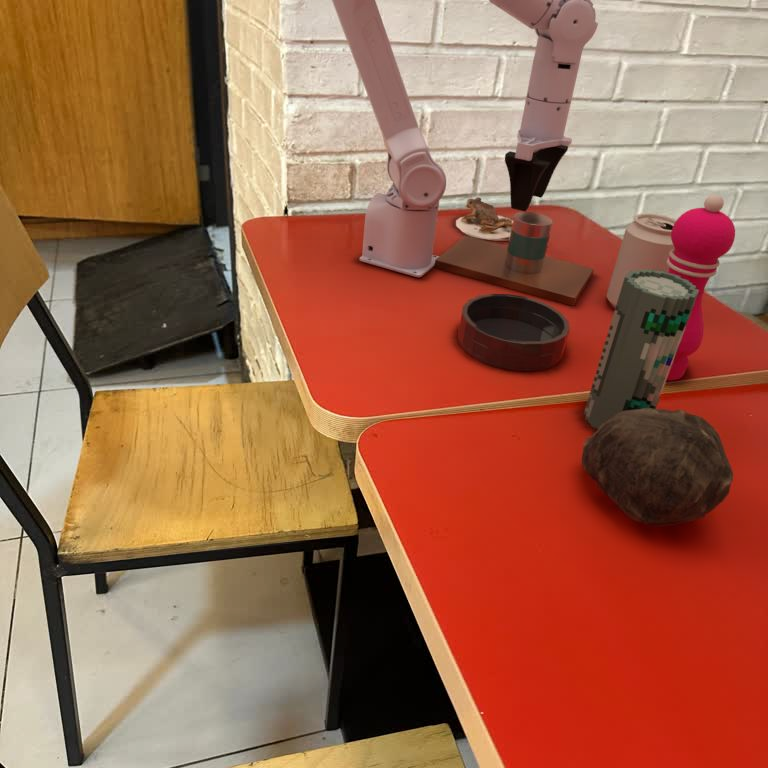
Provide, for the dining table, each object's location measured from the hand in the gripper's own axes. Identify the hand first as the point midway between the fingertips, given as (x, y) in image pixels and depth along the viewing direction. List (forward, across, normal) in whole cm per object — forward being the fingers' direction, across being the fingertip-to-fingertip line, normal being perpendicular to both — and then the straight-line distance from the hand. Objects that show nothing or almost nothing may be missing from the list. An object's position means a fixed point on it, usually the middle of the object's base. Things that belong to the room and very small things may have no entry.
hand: (527, 202), depth 96 cm
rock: (+10, -43, -25) cm, 51 cm away
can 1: (+10, -3, -18) cm, 20 cm away
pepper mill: (+10, -18, -23) cm, 31 cm away
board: (+9, -2, -1) cm, 10 cm away
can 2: (+10, -32, -21) cm, 40 cm away
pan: (+9, -23, -7) cm, 26 cm away
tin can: (+8, -2, -2) cm, 9 cm away
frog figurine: (+10, +12, +8) cm, 18 cm away
